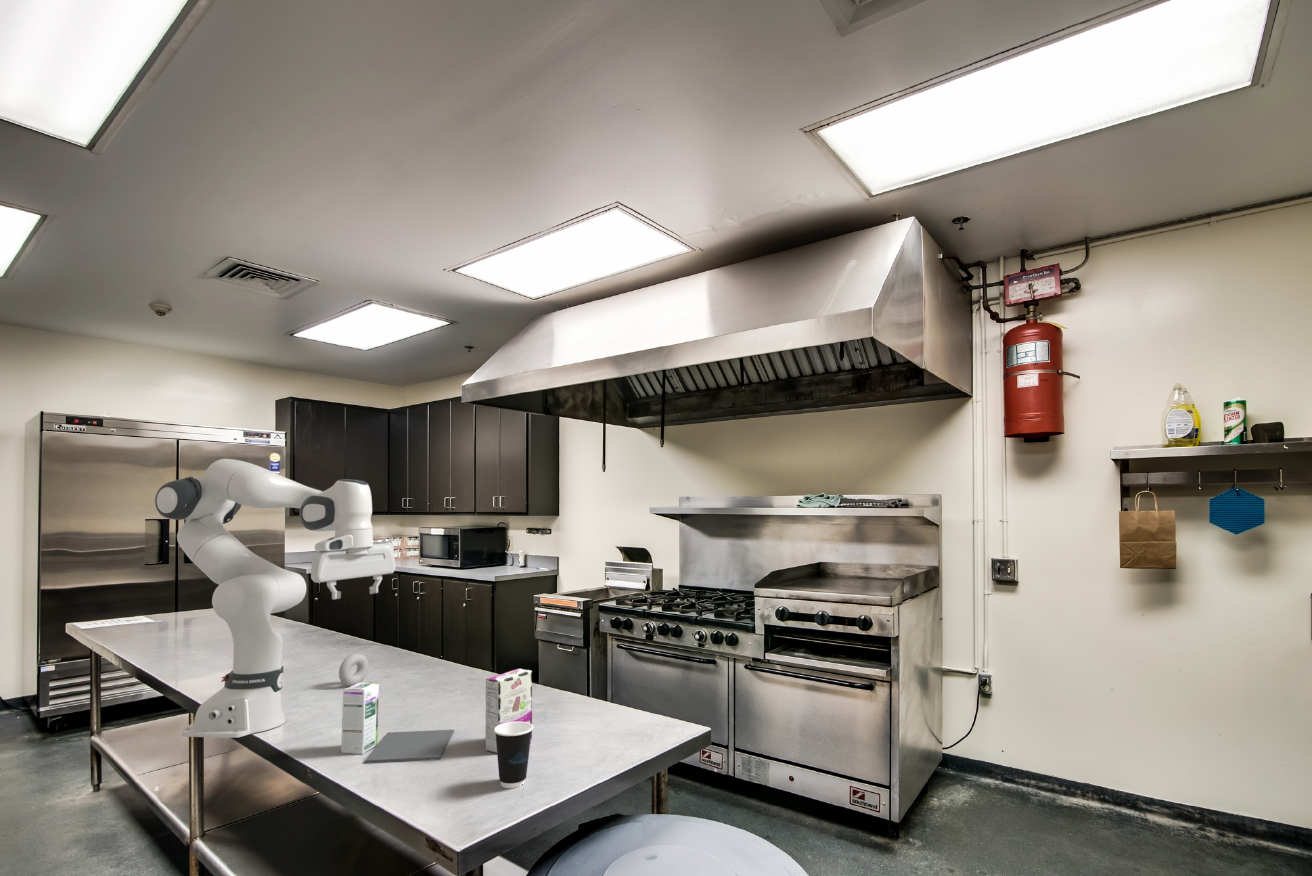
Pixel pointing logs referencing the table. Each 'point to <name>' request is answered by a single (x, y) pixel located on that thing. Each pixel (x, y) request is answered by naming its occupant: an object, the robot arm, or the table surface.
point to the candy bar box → (507, 702)
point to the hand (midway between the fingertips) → (355, 596)
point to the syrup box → (360, 718)
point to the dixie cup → (513, 752)
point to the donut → (348, 664)
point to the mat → (410, 746)
